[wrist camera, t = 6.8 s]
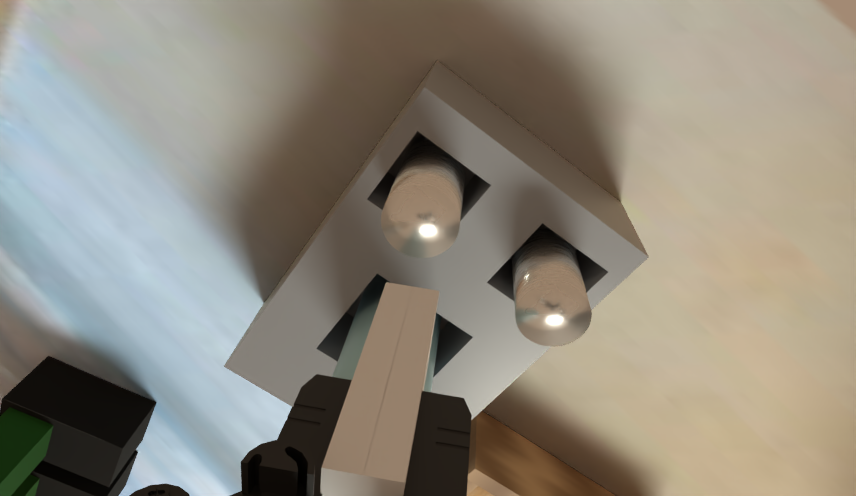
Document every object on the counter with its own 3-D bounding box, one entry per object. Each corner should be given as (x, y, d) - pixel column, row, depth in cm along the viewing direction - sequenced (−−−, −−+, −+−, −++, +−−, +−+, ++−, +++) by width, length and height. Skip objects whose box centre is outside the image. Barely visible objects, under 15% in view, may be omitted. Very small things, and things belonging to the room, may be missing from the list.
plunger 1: (478, 163, 27) (476, 217, 22) (440, 210, 28) (429, 271, 23) (426, 125, 26) (410, 170, 21) (389, 174, 28) (366, 228, 22)
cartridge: (459, 294, 32) (440, 493, 20) (413, 345, 33) (371, 553, 22) (393, 249, 31) (333, 430, 19) (349, 303, 33) (271, 498, 21)
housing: (621, 202, 30) (648, 257, 25) (421, 402, 38) (410, 476, 33) (437, 60, 28) (424, 86, 23) (263, 303, 36) (223, 366, 30)
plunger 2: (585, 243, 28) (607, 311, 23) (544, 284, 30) (556, 358, 24) (538, 208, 28) (549, 270, 22) (498, 251, 29) (500, 320, 24)
